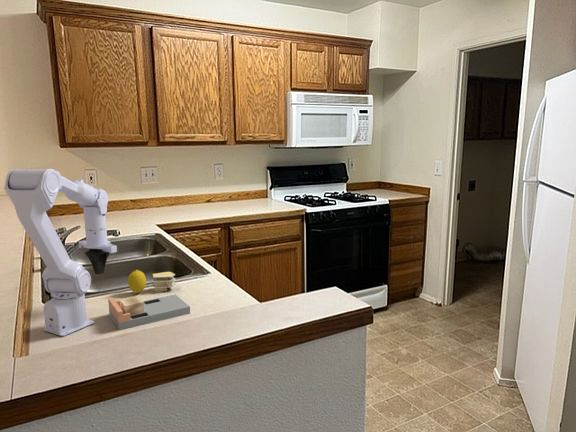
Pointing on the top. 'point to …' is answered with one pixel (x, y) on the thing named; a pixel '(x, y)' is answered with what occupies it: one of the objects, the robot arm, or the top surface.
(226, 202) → the top surface
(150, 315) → the slate board
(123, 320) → the terracotta end wall
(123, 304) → the birch block
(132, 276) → the lemon
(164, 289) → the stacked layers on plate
